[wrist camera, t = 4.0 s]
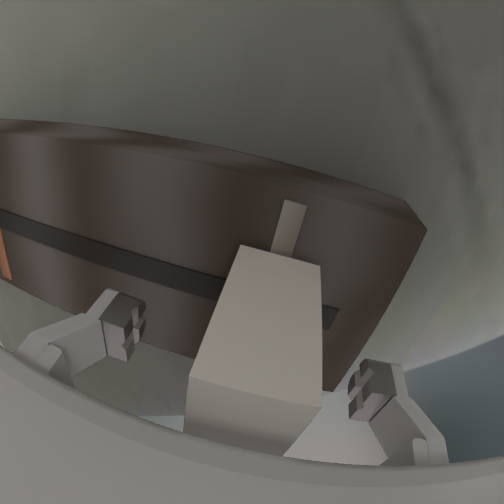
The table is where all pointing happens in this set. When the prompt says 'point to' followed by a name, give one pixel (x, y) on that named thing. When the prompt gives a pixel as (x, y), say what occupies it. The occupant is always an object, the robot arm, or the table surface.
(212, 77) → the table surface
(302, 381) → the fader tab
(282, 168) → the slider console
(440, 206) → the table surface
